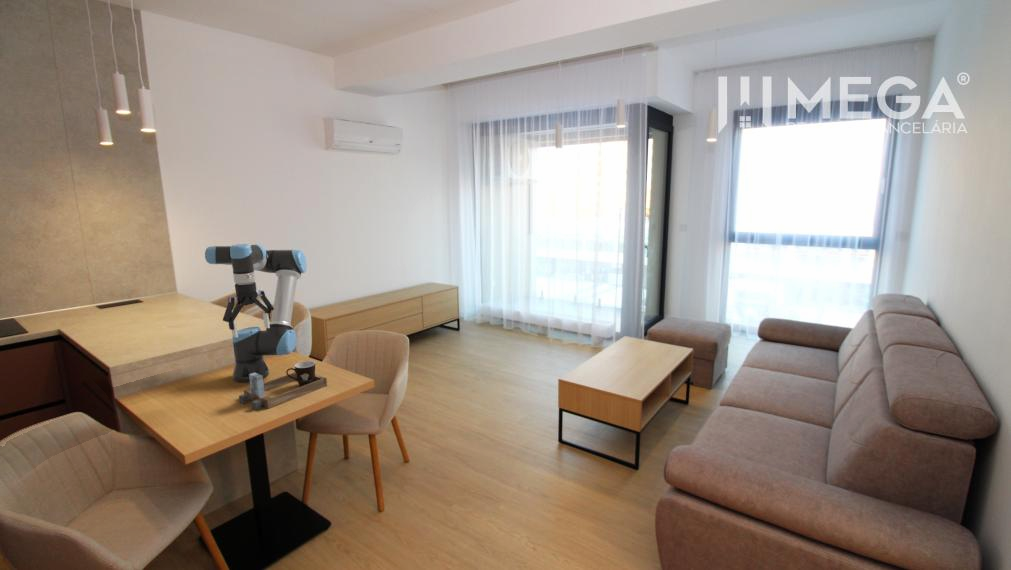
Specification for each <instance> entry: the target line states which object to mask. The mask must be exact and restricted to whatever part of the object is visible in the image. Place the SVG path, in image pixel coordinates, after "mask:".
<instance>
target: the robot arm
mask: <svg viewBox="0 0 1011 570" xmlns="http://www.w3.org/2000/svg"><path fill="white" fill-rule="evenodd" d="M204 259H205V261H206V263H208V264H209V265H229V266H231V267H232V273H233V275H232V276H233V281H234V283H235V284H234V288H235V294H236V296H234V297H231V296H228V299H227V301H228V302H227V306H226V309H225V311H224V315H223V318H222V321H223V322H225V323H228V329H229V330H231V333H232V334H231V335H232V342H231V343H232V346H233V347H232V348H233V354H234V362H235V365H234V368H233V372H232V379H233V381H234V382H237V383H250V378H249V374H252V373H257V374H260V375H262V376H263V379H264V378H266V377H268V376H269V375H270V371H269V366H268V365H267V363H266V360H265V359H264V356H278V357H279V356H286V355H290V354H291V353H292V352H293V351H294V350H295V348H296V345H297V341H298V340H297V339H298V338H297V336H298V335H297V332H296V331H295V330H294V327H293V326H292V325H291V323H292V316H293V311H294V310H293V309H294V303H295V294H296V289H297V281H298V280H299V279H301V276H302V274H304V273H306V271H307V260H306V256H305V253H304V252H303V251H302V250H301V249H270V250H269V249H268V250H266V248H265V247H264V246H263V245H261V244H251V245H250V244H249V243H248V244H247V243H238V244H233V245H231V246H229V245H223V246H221V245H220V246H219V245H213V246H208V247H207V248H205V252H204ZM255 271H258V272H262V273H267V274H268V273H269V274H275V276H276V277H277V282H276V289H275V293H274V294H275V295H274V301H273V305H272V303H271V302H270V300H269V299H268V298H267V296H266V294H265V291H264V290H261V289H260V290H258V291H257V283H256V278H255ZM258 297H260V299H261V300H262V302H263V303H264V304H263V303H261V302H260V300H258V299H257V298H258ZM253 304H254V305H256V306H257V307H259V308H260V309H261V310H262V311H263V312H262V318H263V324H264V328H265V330H261V328H260V326H250V327H246V328H241V329H238V327H237V321H235V320H236V318H237V317H238V315H239V313H240V312H241V310H242V308H243V309H244V306H249V305H253ZM271 313H272V314H271Z"/></svg>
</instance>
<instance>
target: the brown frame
mask: <svg viewBox="0 0 1011 570" xmlns="http://www.w3.org/2000/svg"><path fill="white" fill-rule="evenodd" d="M288 374H289V375H290V376H291V377H294V378H296V379H298V378H297V374H296V372H295V371H294V372H292V373H288ZM249 378H250V382H249V385H250V387H248V388H245V389H243V394H245V395H247V396H248V401H251V402H252V401H255V400H258V401H260V402H261V407H264V408H266V409H271V408H274V407H276V406H278V405H281V404H283V403H286V402H289V401H291V400H294V399H296V398H299V397H301V396H304V395H307V394H309V393H311V392H315V391H317V390H319V389H321V388H324V387H326V386H328V383H327V382H328V381H327V377H324V376H322V375H318V374H316V373H315V381H314V382H312V383H309V384H306V385H304V386H301V387H299V386H298V387H296V388H293V389H291V390H288V391H286V392H283V393H281V394H278V395H276V396H273V397H272V396H271V397H270V396H268V395H266V394H265V393H266V392H267V391H269V390H273V389H275V388H279V387H281V386H284V385H287V384H289V383H292V382H295V381H296V380H295V379H293V378H290V377H289V376H288V375H287V374H286V375H283V376H280V377H277V378H275V379H272V380H269V381H265V382H264V378H263V376H262V375H260V374H257V373H252V374H249Z"/></svg>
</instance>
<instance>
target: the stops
mask: <svg viewBox="0 0 1011 570" xmlns="http://www.w3.org/2000/svg"><path fill="white" fill-rule="evenodd" d="M238 398H239V403H241V404H242V405H245V404H247V403H249V399H248V396H247V395H245V394H244V393H242V394H240V395H239V396H238ZM251 404H252V405H251V406H252V409H253V410H254V411H259V410H260V409H262V406H261V402H260V401H258V400H255V401H251Z"/></svg>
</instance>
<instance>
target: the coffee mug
mask: <svg viewBox="0 0 1011 570" xmlns="http://www.w3.org/2000/svg"><path fill="white" fill-rule="evenodd" d="M290 370H292V371H294V372H296V374H297V378H298V379H296V378H294V377H291V376H290V375H289V374H290V373H288V371H290ZM315 374H316V362H315V361H314V360H305V361H300V362H297V363H296V364H294V367H290V368H288V369H287V370H286V375H288V376H289V377H290V378H293V379H295V381H297V382H298V388H299V387H301V386H304V385H306V384H309V383H312V382H314V381H315Z"/></svg>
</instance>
